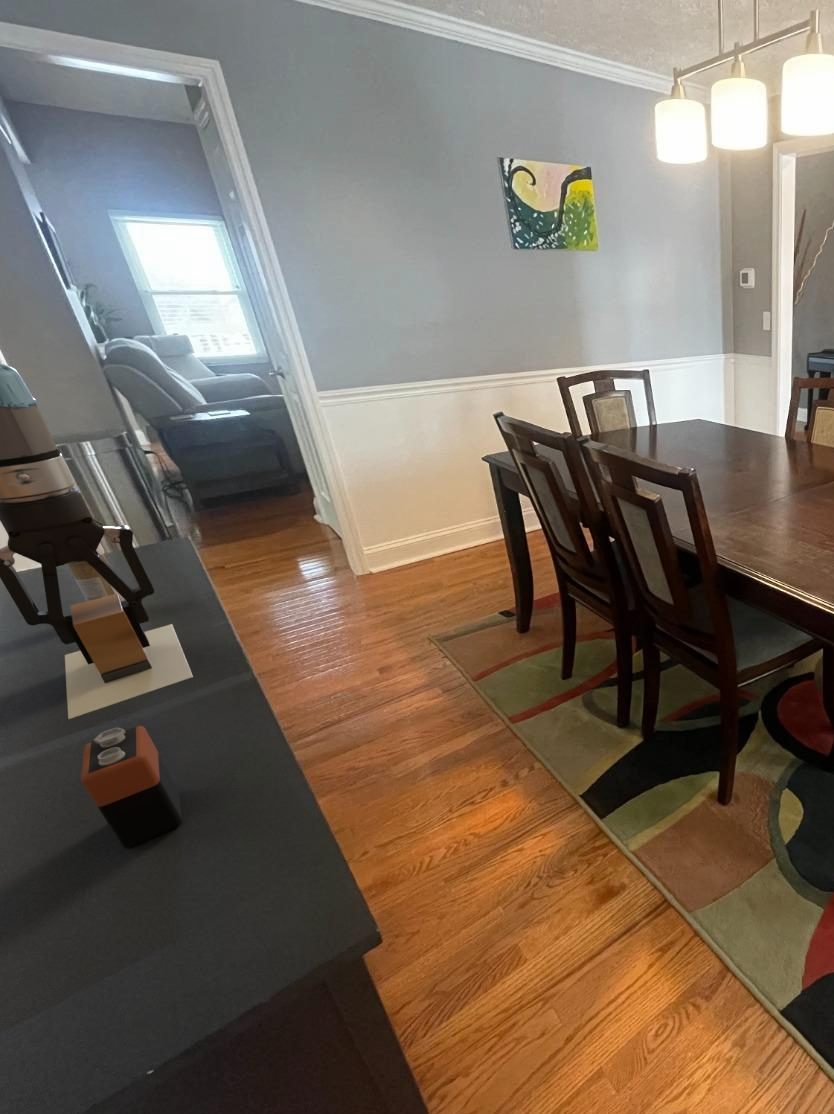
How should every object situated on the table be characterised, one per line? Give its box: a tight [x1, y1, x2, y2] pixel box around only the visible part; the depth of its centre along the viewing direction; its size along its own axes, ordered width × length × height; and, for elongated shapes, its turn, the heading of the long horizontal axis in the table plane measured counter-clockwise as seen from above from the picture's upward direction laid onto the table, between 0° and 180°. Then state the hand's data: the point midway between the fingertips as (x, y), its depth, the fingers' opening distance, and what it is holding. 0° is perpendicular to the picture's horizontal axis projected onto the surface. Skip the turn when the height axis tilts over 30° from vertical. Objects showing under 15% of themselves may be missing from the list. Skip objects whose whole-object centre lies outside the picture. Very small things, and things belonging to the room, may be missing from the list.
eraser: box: [69, 594, 152, 683], centre depth 83 cm, size 9×5×9 cm, turn 48°
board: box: [64, 623, 194, 720], centre depth 85 cm, size 22×12×1 cm, turn 47°
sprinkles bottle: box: [66, 543, 126, 602], centre depth 97 cm, size 5×5×14 cm
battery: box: [80, 725, 182, 849], centre depth 59 cm, size 4×7×10 cm, turn 44°
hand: (118, 651), depth 84 cm, fingers closed on eraser, 5 cm apart
